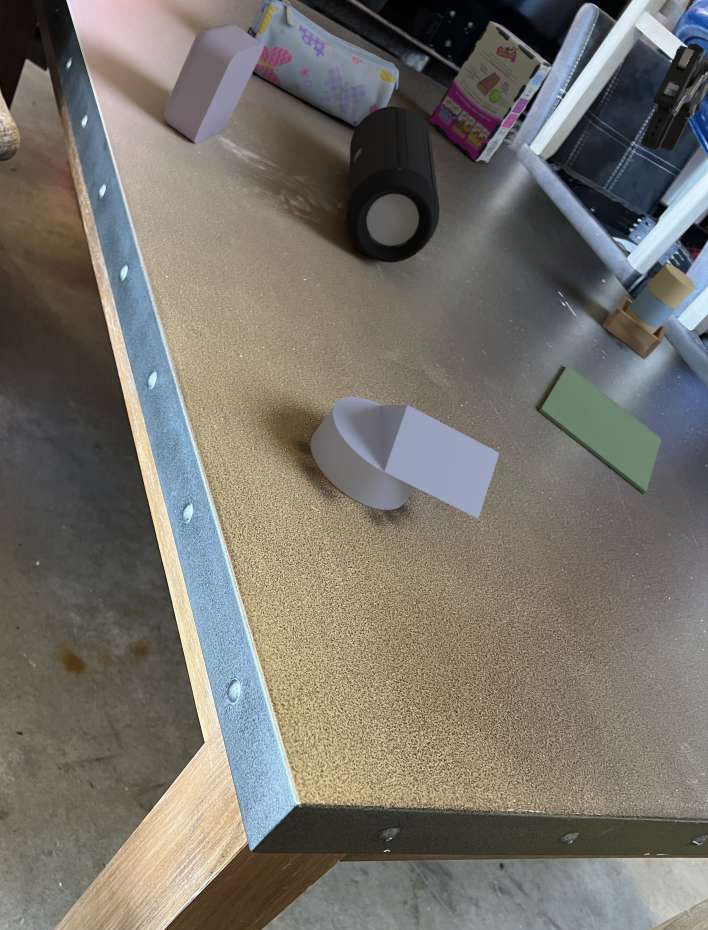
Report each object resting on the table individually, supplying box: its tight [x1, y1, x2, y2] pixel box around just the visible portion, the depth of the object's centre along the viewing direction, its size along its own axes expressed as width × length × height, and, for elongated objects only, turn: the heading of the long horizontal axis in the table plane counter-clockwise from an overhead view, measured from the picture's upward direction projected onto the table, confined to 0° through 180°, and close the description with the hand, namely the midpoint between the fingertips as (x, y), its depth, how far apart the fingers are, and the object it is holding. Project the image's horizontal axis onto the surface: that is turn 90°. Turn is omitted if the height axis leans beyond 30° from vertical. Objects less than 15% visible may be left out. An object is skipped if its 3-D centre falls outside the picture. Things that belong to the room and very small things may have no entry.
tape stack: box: [624, 263, 696, 334], centre depth 131 cm, size 5×5×10 cm
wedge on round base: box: [310, 396, 500, 519], centre depth 75 cm, size 9×7×13 cm
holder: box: [601, 295, 667, 360], centre depth 133 cm, size 7×7×3 cm
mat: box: [538, 364, 662, 495], centre depth 107 cm, size 14×16×1 cm
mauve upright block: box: [163, 23, 263, 144], centre depth 102 cm, size 10×5×10 cm, turn 159°
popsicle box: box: [428, 20, 554, 164], centre depth 151 cm, size 11×5×16 cm, turn 47°
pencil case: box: [246, 0, 400, 128], centre depth 128 cm, size 21×9×10 cm, turn 89°
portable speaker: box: [345, 106, 440, 264], centre depth 110 cm, size 26×10×10 cm, turn 175°
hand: (656, 148), depth 117 cm, fingers open, 8 cm apart
